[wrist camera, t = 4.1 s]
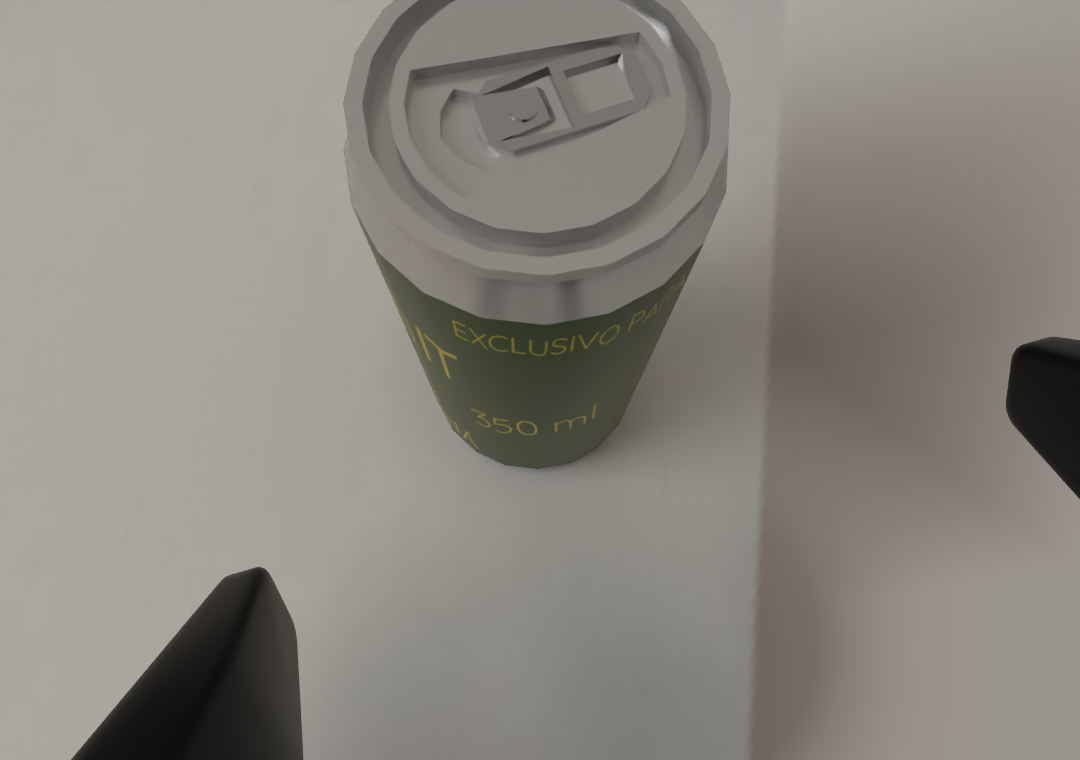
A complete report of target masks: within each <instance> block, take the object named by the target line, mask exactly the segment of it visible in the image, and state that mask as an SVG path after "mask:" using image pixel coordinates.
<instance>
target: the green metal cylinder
mask: <svg viewBox="0 0 1080 760" xmlns="http://www.w3.org/2000/svg"><path fill="white" fill-rule="evenodd" d="M343 105H344V111H345V118H346V125H347V132H348V134H347V139H346V143H345V148H344V156H345V163H346V170H347V176H348V183H349V190H350V197H351V204H352V206H353V208H354V211H355V213H356V215H357V217H358V220H359V222H360V224H361V227H362V229H363V231H364V234H365V236H366V238H367V240H368V243H369V245H370V247H371V250H372V252H373V254H374V256H375V259H376V261H377V263H378V266H379V268H380V270H381V272H382V275H383V277H384V279H385V282H386V284H387V286H388V288H389V291H390V293H391V295H392V298H393V300H394V302H395V304H396V307H397V309H398V311H399V314H400V316H401V318H402V320H403V323H404V325H405V327H406V330H407V332H408V334H409V337H410V339H411V341H412V343H413V346H414V348H415V350H416V353H417V355H418V357H419V359H420V362H421V364H422V366H423V369H424V371H425V373H426V375H427V378H428V380H429V382H430V385H431V387H432V389H433V391H434V394H435V396H436V398H437V401H438V403H439V405H440V407H441V408H442V410H443V412H444V414H445V416H446V418H447V420H448V421H449V423H450V425H451V427H452V429H453V430H454V431H455V432H456V433H457V434H458V435H459V436H460V437H461V438H462V439H463V440H464V441H465V442H467V443H468V444H469V445H470V446H471V447H472V448H473V449H474V450H475V451H476V452H478V453H481V454H483V455H485V456H487V457H489V458H491V459H494V460H496V461H498V462H500V463H502V464H505V465H510V466H518V467H527V468H536V469H539V468H544V467H549V466H555V465H560V464H565V463H570V462H572V461H573V460H575V459H577V458H579V457H580V456H582V455H584V454H586V453H588V452H589V451H591V450H593V449H595V448H597V447H598V446H599V445H600V444H601V443H602V442H603V441H604V439H605V438H606V437H607V436H608V435H609V434H610V433H611V432H612V431H613V430H614V428H615V427H616V426H617V425H618V424H619V422H620V420H621V418H622V416H623V414H624V412H625V409H626V407H627V405H628V403H629V401H630V399H631V397H632V395H633V392H634V390H635V388H636V386H637V384H638V382H639V380H640V377H641V375H642V373H643V371H644V369H645V367H646V365H647V363H648V360H649V358H650V356H651V354H652V352H653V350H654V348H655V346H656V343H657V341H658V339H659V337H660V335H661V333H662V331H663V329H664V326H665V324H666V322H667V320H668V318H669V316H670V314H671V312H672V309H673V307H674V305H675V303H676V301H677V299H678V297H679V294H680V292H681V290H682V288H683V286H684V284H685V282H686V280H687V277H688V275H689V273H690V271H691V269H692V267H693V265H694V263H695V260H696V258H697V256H698V254H699V252H700V250H701V248H702V246H703V243H704V241H705V239H706V237H707V234H708V232H709V230H710V227H711V225H712V223H713V221H714V218H715V216H716V214H717V211H718V209H719V207H720V205H721V202H722V200H723V198H724V195H725V193H726V180H727V159H728V129H729V109H730V91H729V88H728V85H727V82H726V78H725V75H724V72H723V69H722V66H721V63H720V60H719V57H718V54H717V51H716V48H715V45H714V43H713V42H712V40H711V39H710V38H709V36H708V35H707V34H706V33H705V31H704V30H703V29H702V27H701V26H700V25H699V23H698V22H697V21H696V19H695V18H694V17H693V15H692V14H691V13H690V11H689V10H688V9H687V7H686V6H685V5H684V4H683V2H681V1H680V0H394V1H393V2H392V3H391V4H389V5H388V6H387V7H386V8H385V9H383V10H382V12H381V14H380V15H379V17H378V18H377V20H376V21H375V23H374V24H373V26H372V28H371V29H370V31H369V32H368V34H367V35H366V37H365V38H364V40H363V42H362V43H361V45H360V46H359V48H358V49H357V51H356V52H355V55H354V59H353V64H352V68H351V72H350V77H349V81H348V86H347V90H346V94H345V99H344V103H343Z"/></svg>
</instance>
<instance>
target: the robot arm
mask: <svg viewBox="0 0 1080 760" xmlns="http://www.w3.org/2000/svg"><path fill="white" fill-rule="evenodd" d="M1006 410H1007V413H1008V416H1009V419H1010V420H1011V422H1012V424H1013V425H1014V426H1015V427H1016V429H1017V430H1018V431H1019V432H1020V433H1021V434H1022V435H1023V436H1024V437H1025V438H1026V439H1027V441H1028V442H1029V443H1030V444H1031V445H1032V446H1033V447H1034V449H1035V450H1036V451H1037V452H1038V453H1039V454H1040V455H1041V456H1042V458H1044V460H1045V461H1046V462H1047V463H1048V464H1049V465H1050V466H1051V467H1052V469H1053V470H1054V471H1055V472H1056V473H1057V474H1058V475H1059V476H1060V478H1061V479H1062V480H1063V481H1064V482H1065V483H1066V484H1067V485H1068V487H1070V488H1071V490H1072V491H1073V492H1074V493H1075V494H1076V495H1077V497H1078V498H1079V499H1080V340H1074V339H1067V338H1059V337H1048V338H1044V339H1040V340H1037V341H1034V342H1031V343H1027V344H1023V345H1021V346H1020V347H1018V348H1017V349H1016V350H1015V352H1014V354H1013V356H1012V360H1011V367H1010V375H1009V382H1008V390H1007V398H1006ZM71 760H303V743H302V725H301V706H300V687H299V668H298V650H297V636H296V631H295V627H294V623H293V620H292V618H291V616H290V614H289V612H288V610H287V608H286V606H285V604H284V602H283V600H282V597H281V595H280V593H279V591H278V589H277V587H276V585H275V583H274V581H273V579H272V577H271V576H270V574H269V573H268V572H267V570H266V569H264V568H261V567H256V568H253V569H249V570H246V571H242V572H239V573H235V574H232V575H229V576H227V577H225V578H224V579H223V580H222V581H221V582H220V583H219V584H218V585H217V586H216V588H215V589H214V590H213V591H212V592H211V593H210V595H209V596H208V597H207V598H206V599H205V601H204V602H203V603H202V604H201V605H200V607H199V608H198V609H197V610H196V611H195V613H194V614H193V615H192V616H191V617H190V619H189V620H188V621H187V622H186V623H185V624H184V626H183V627H182V628H181V629H180V630H179V632H178V633H177V634H176V635H175V636H174V638H173V639H172V640H171V641H170V642H169V644H168V645H167V646H166V647H165V648H164V650H163V651H162V652H161V653H160V654H159V655H158V657H157V658H156V659H155V660H154V661H153V663H152V664H151V665H150V666H149V667H148V669H147V670H146V671H145V672H144V673H143V675H142V676H141V677H140V678H139V679H138V681H137V682H136V683H135V684H134V685H133V686H132V688H131V689H130V690H129V691H128V692H127V694H126V695H125V696H124V697H123V698H122V700H121V701H120V702H119V703H118V704H117V706H116V707H115V708H114V709H113V710H112V712H111V713H110V714H109V715H108V716H107V717H106V719H105V720H104V721H103V722H102V723H101V725H100V726H99V727H98V728H97V729H96V731H95V732H94V733H93V734H92V735H91V737H90V738H89V739H88V740H87V741H86V743H85V744H84V745H83V746H82V747H81V748H80V750H79V751H78V752H77V753H76V754H75V756H74V757H73V758H72V759H71Z"/></svg>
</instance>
